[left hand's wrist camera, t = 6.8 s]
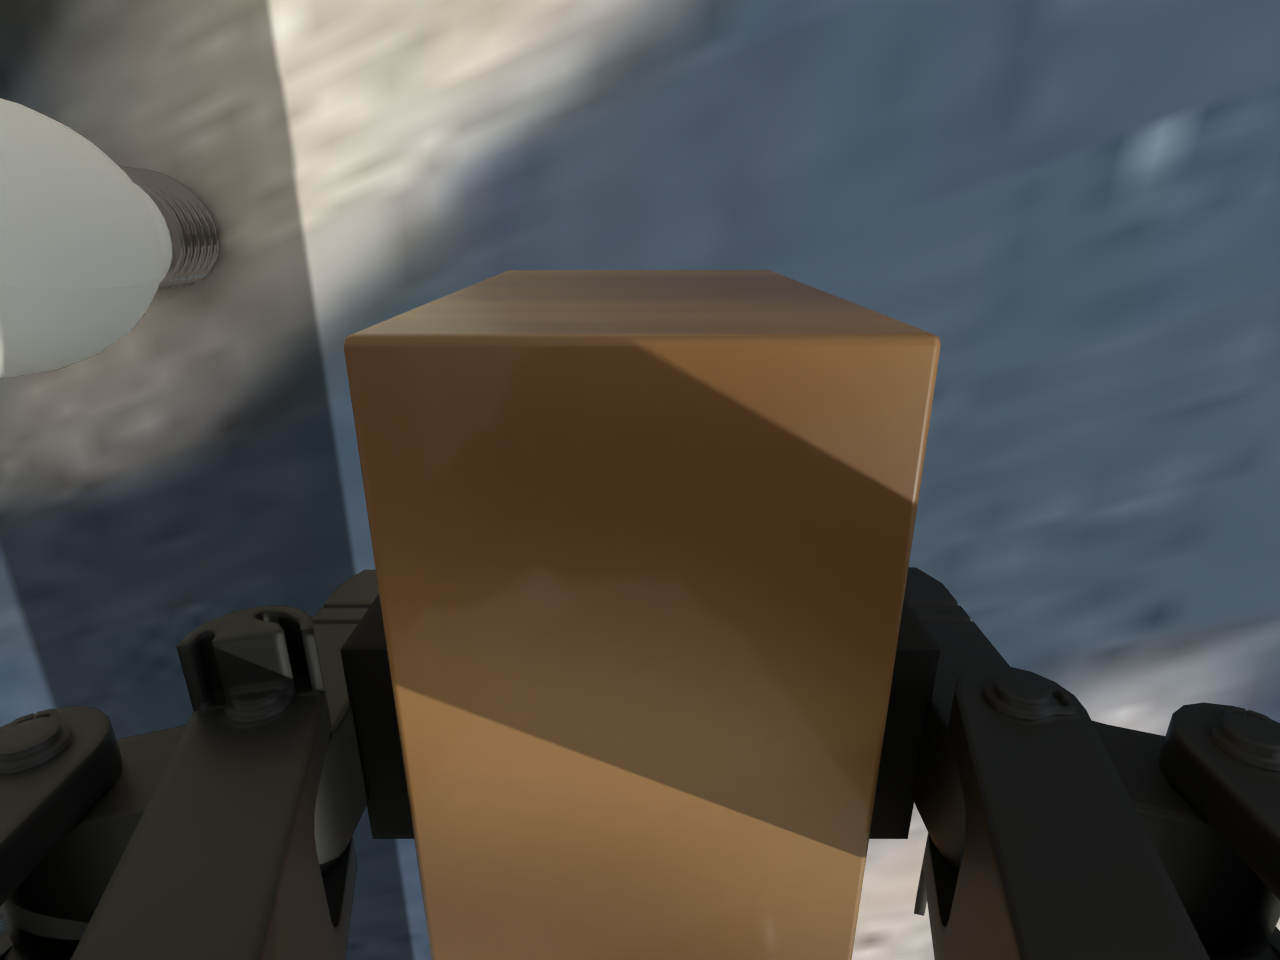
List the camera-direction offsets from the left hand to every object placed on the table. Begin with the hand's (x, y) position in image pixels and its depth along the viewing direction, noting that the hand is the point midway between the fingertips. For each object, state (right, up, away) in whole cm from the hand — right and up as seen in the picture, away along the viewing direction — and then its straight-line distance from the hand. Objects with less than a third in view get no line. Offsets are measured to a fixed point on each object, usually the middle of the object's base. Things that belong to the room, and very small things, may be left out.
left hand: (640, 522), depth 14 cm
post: (0, -22, +9) cm, 24 cm away
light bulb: (-16, +9, +10) cm, 21 cm away
